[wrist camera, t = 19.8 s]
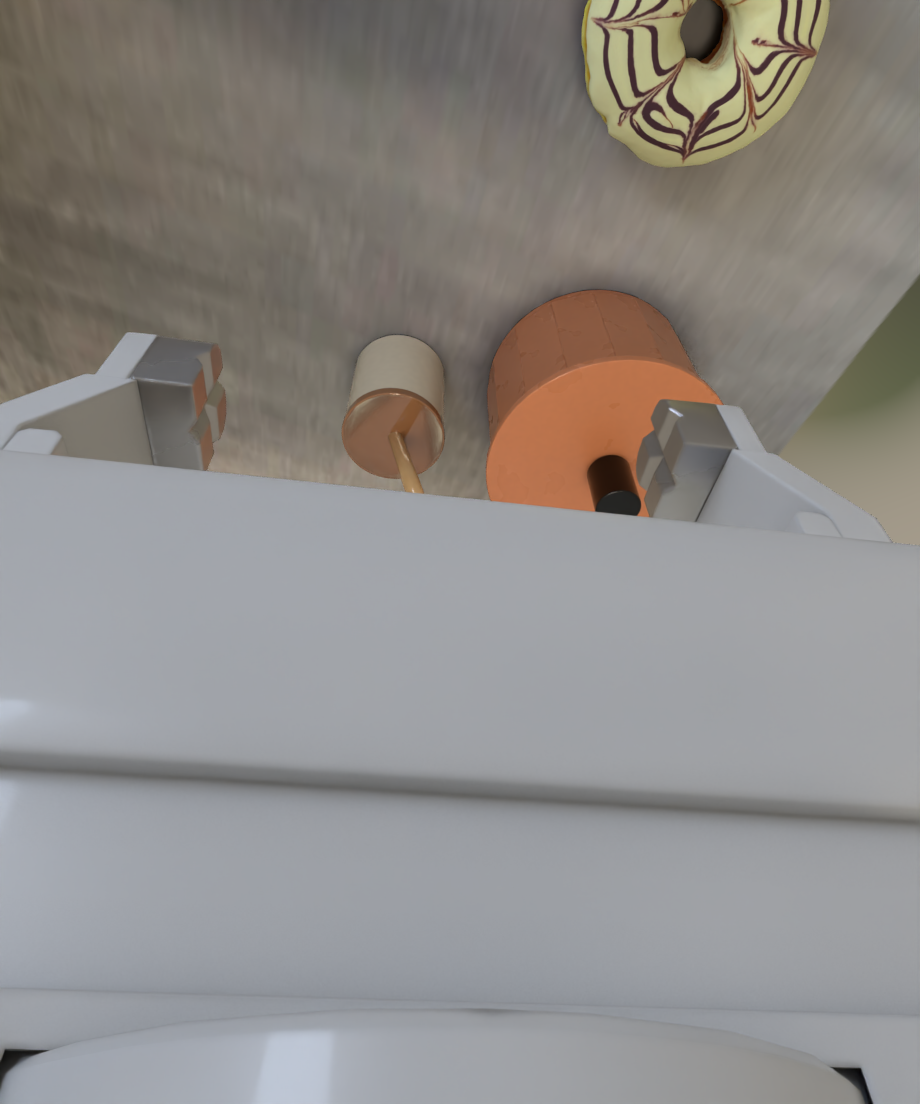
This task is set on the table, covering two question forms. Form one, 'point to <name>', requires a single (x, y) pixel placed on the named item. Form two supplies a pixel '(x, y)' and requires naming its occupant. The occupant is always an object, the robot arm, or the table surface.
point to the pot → (576, 342)
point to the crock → (396, 410)
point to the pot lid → (585, 434)
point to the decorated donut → (697, 74)
